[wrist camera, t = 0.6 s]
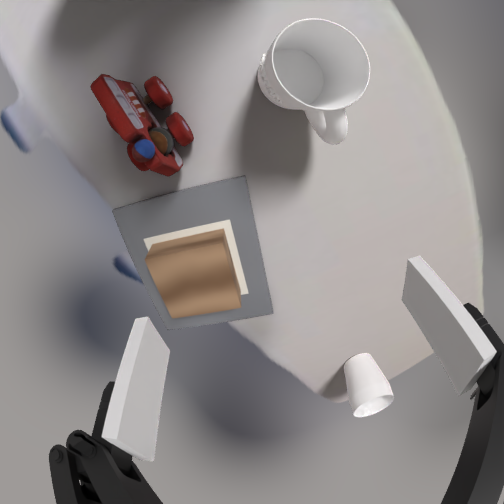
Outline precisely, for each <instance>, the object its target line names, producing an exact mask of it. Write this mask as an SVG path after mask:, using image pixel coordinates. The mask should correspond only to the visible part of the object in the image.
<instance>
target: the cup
mask: <svg viewBox="0 0 504 504" xmlns="http://www.w3.org/2000/svg"><path fill="white" fill-rule="evenodd" d="M344 373H345V379H346V386H347V392H348V399H349V404H350V406H351V409H352V411H353V414H354V416H356V417H364V416H369V415H372V414H375V413H377V412H379V411H381V410H383V409H384V408H386V407H387V406H389V405H390V404H391V403H392V401H393V400H394V395H393V392H392V389H391V387H390V384H389V382H388V381H387V379H386V378H385V376H384V374H383V373H382V371H381V370H380V368H379V367H378V365H377V364H376V362H375V361H374V359H373V358H372V356H371V355H370V354H368V353H361V354H357V355H355V356H353V357H351V358H350V359H349V360H347V361H346V363H345V364H344Z"/></svg>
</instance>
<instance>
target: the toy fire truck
mask: <svg viewBox="0 0 504 504" xmlns="http://www.w3.org/2000/svg"><path fill="white" fill-rule="evenodd" d="M144 88H145V90H146V92H147V94H148V95H147V96H145V97H144V98H143V97H142V96H141V94H140V93H139V91H138V90H137V88H136V87H135V86H134V85H133V84H132V83H130V82H126V81H121V80H115V79H114V78H112V77H111V76H110V75H106V74H102V75H100V76H99V77H98V78H97V79H96V80H95V81H94V82H93V83H92V84H91V90H92V92H93V93H94V95H95V97H96V98H97V100H98V101H99V103H100V105H101V106H102V108H103V110H104V111H105V113H106V117H107V120H108V122H109V124H110V126H111V127H112V128H113V129H114V130H115V131H116V132H117V133H118V134H119V135H120V136H121V138H122V139H123V140H124V141H126V142H128V143H129V144H128V146H127V152H128V155H129V157H130V159H131V161H132V162H133V164H134V165H135V166H136V167H137V168H138V169H139V170H141V171H147V170H149V169H150V170H151V171H154V172H157V173H159V174H162V175H165V176H171V175H173V174H174V173H176V172H178V171H179V170H180V169H181V167H182V166H183V161H182V159H181V157H180V155H179V154H178V152H177V151H176V149H175V148H174V146H173V145H174V140H173V138H174V139H175V140H176V142H178V144H180V145H181V146H186V145H188V144H189V143H191V142H192V141H193V140H194V137H193V134H192V131H191V130H190V128H189V126H188V124H187V123H186V121H185V120H184V118H183V117H182V116H181V115H180V114H179V113H177V112H174V113H173V114H171V115H170V116H168V117H167V118H166V125H167V127H168V130H167V129H165V128H162V127H161V126H160V124H159V123H158V121H157V119H156V118H155V116H154V115H153V113H152V112H151V110H150V109H149V106H148V104H149V103H151V102H152V101H153V102H154V103H155V105H156V106H158V107H159V108H161V109H165V108H166V107H168V106H169V105H171V104H172V103H173V98H172V96H171V94H170V92H169V91H168V89H167V87H166V86H165V85H164V83H163V82H162V81H161V80H160V79H159V78H158V77H156V76H153V77H151V78H150V79H149V80H147V81H146V82H145V83H144Z"/></svg>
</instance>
